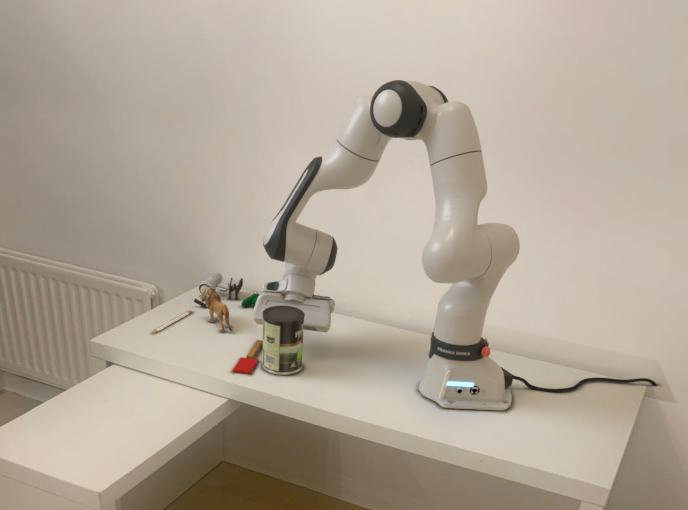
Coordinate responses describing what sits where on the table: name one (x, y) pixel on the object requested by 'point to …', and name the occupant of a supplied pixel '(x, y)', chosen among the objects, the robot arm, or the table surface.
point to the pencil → (172, 321)
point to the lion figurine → (216, 307)
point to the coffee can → (282, 339)
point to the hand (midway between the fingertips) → (287, 342)
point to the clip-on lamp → (215, 282)
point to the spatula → (248, 360)
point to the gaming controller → (250, 300)
